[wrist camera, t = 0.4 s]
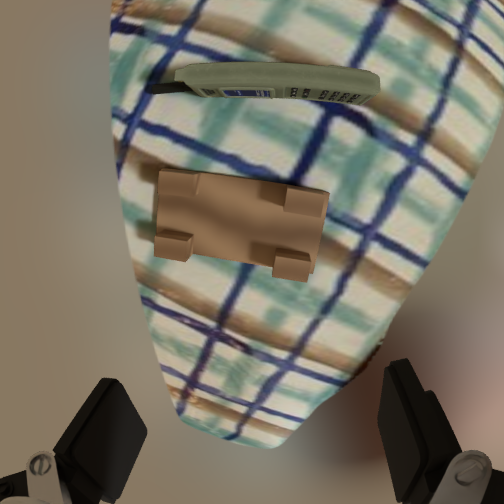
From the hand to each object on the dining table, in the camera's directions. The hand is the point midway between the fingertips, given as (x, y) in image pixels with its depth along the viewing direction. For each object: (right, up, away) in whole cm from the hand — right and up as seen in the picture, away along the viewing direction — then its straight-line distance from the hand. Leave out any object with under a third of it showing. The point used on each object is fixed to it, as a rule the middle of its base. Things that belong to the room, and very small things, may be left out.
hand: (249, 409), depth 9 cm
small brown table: (-2, +9, +27) cm, 29 cm away
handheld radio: (+1, +24, +22) cm, 33 cm away
